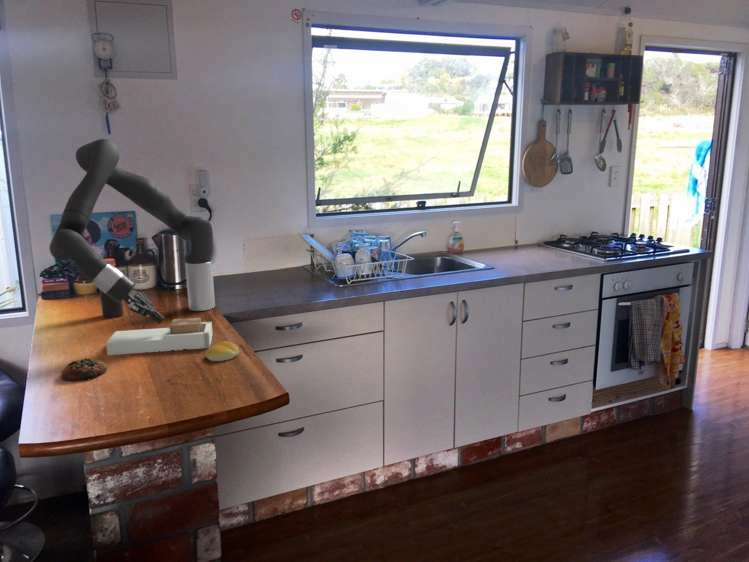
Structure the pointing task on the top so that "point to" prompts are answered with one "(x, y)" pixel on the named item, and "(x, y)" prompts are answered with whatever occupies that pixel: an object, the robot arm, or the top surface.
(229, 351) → the bread roll
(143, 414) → the top surface
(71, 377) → the bread roll
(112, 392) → the top surface
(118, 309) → the bottle
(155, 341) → the ledge
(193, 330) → the block
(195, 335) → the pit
